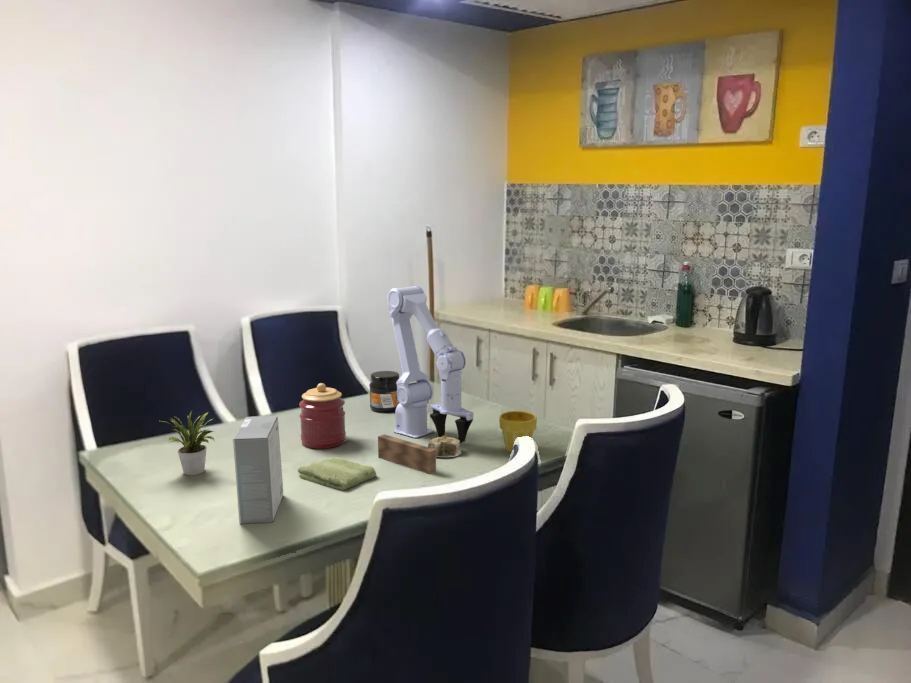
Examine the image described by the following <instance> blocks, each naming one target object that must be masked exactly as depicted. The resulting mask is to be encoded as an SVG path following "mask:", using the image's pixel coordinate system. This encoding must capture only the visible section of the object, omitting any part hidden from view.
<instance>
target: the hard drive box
mask: <svg viewBox="0 0 911 683" xmlns="http://www.w3.org/2000/svg"><path fill="white" fill-rule="evenodd" d="M280 442H281V441H280V427H279V417H278V415H265V416H263V415H262V416H259V415H258V416H246V417H245V418H244V420H243V421H242V424H241V425H240V426H239V429H238V430H237V432H236V433H235V435H234V436H233V438H232V443H233V444H232V445H233V446H232V447H233V457H234V469H235V470H234V471H235V482H236V483H235V484H236V495H237V497H236V498H237V509H238V521H239V522H238V523H239V524H242V525H243V524H262V523H265V524H266V523H273V521H274V519H275V517H276V515H277V511H278V509H279V507H280V504H281V502H282V498H283V496H284V482H283V480H284V479H283V469H282V456H281V454H282V452H281V443H280Z"/></svg>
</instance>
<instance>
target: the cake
mask: <svg viewBox="0 0 911 683" xmlns="http://www.w3.org/2000/svg"><path fill="white" fill-rule="evenodd" d="M427 447H429V448H433V449H436V458H452V457H458V456H461V455H462V453H463V451H462V450H461V448H460V447H461V443H460V441H459V440H458V438H455V437H452V436H447V434H445V435H444V436H442V437H438V436H437V437H433V438H431V439H430V440H429V441H428V444H427ZM448 455H449V456H448Z"/></svg>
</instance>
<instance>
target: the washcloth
mask: <svg viewBox="0 0 911 683" xmlns="http://www.w3.org/2000/svg"><path fill="white" fill-rule="evenodd" d="M297 473H298V474H299V476H298V477H299V478H300V479H304V480H306V481H311V482H313V483H316V484H319V485H322V486H326V487H329V488H333V489H336V490H339V491H346V490H347V489H350V488H352V487H355V486H357V485H358V484H360V483H362V482H366V481H368V480H371V479H373V478H375V477H376V476H377V472H376V469H375V468H374V467H373V466H372V465H367V464H361V463H359V462H355V461H350V460H346V459H343V458H341V457H337V456H336V457H327V458H326V459H322V460H317V461H313V462H311V463H310V464H308V465H306V466H299V467H298V468H297Z"/></svg>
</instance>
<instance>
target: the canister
mask: <svg viewBox="0 0 911 683" xmlns="http://www.w3.org/2000/svg"><path fill="white" fill-rule="evenodd" d="M342 396H343V394H342V392H340V391H339V390H337V389H336V388H332V387H328V386H326V384H325V383H322V382H320V383H318V384H317V386H316V387H314V388H311V389H308V390H307V391H306V392H304V393H302V395H301V398H302V400H301V401H299V404H298V406H299V408H301V409H300V411H301V412H300V414H299V418H300V432H301V433H300V441H301V444H302V445H303V446H304V447H306V448H310V449H316V450H317V449H321V450H322V449H330V448H336V447H339V446H341V445H343V444H344V443H345V442H346V438H347V432H346V419H345V418H346V417H345V415H346V411H345V410H344V405H345V403H346V401H345V400H344V399H343V398H341V397H342Z"/></svg>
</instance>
